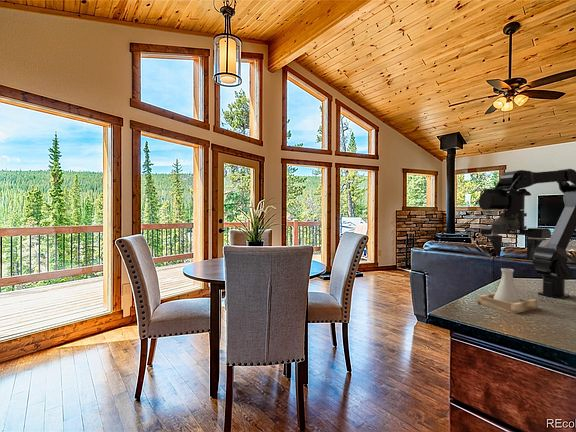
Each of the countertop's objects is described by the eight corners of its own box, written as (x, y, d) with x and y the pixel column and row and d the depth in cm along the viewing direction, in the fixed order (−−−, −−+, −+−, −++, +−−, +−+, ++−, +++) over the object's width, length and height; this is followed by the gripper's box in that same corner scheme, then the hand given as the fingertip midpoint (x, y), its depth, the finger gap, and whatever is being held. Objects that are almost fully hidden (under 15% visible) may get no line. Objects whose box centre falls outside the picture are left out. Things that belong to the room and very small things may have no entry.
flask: (527, 307, 94) (527, 271, 93) (499, 306, 95) (499, 271, 95) (514, 300, 101) (514, 267, 101) (488, 299, 102) (488, 266, 102)
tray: (499, 299, 105) (499, 291, 105) (537, 308, 96) (537, 299, 95) (477, 303, 100) (477, 295, 100) (514, 313, 91) (514, 304, 90)
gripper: (470, 210, 112) (469, 256, 112) (531, 210, 95) (530, 264, 95) (490, 210, 117) (490, 254, 117) (552, 210, 100) (551, 261, 100)
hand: (513, 258), depth 107 cm, fingers open, 9 cm apart
